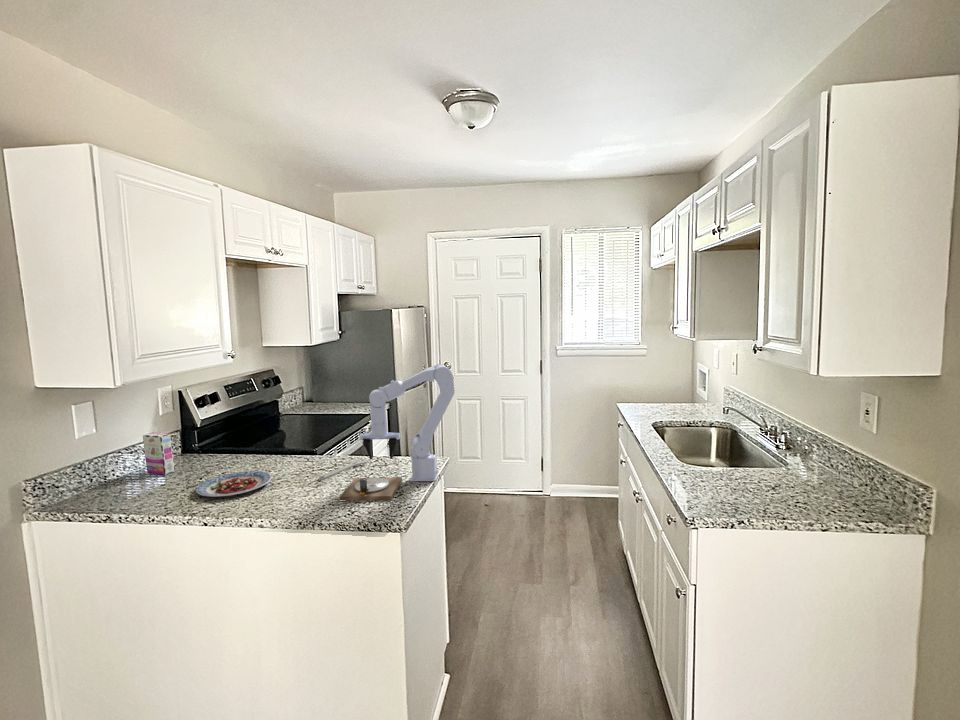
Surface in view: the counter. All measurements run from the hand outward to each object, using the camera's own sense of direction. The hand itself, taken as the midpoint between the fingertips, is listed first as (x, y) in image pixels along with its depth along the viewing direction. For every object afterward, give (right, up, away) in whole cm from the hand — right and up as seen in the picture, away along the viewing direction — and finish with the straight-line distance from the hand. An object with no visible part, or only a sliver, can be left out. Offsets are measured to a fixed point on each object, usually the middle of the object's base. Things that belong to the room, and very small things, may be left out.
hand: (381, 458), depth 194 cm
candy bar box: (-96, -11, +24) cm, 100 cm away
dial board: (-2, -10, -7) cm, 13 cm away
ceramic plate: (-56, -12, +3) cm, 57 cm away
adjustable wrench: (-19, -9, +17) cm, 27 cm away
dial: (-2, -9, -7) cm, 11 cm away
